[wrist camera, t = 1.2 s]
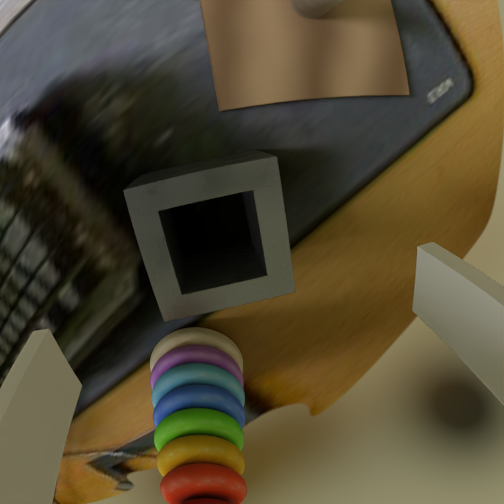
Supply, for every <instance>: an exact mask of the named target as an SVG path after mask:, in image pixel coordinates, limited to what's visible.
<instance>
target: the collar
mask: <svg viewBox="0 0 504 504" xmlns="http://www.w3.org/2000/svg"><path fill="white" fill-rule="evenodd" d="M123 191H124V195H125V199H126V202H127V206H128V210H129V213H130V217H131V221H132V224H133V228H134V231H135V234H136V238H137V241H138V245H139V248H140V251H141V254H142V258H143V261H144V264H145V267H146V270H147V273H148V276H149V279H150V282H151V285H152V288H153V291H154V294H155V297H156V300H157V302H158V305H159V308H160V311H161V314H162V316H163V319H164V322H166V321H170V320H175V319H180V318H185V317H189V316H194V315H199V314H203V313H208V312H212V311H217V310H221V309H226V308H230V307H234V306H239V305H243V304H247V303H252V302H256V301H260V300H264V299H268V298H272V297H276V296H280V295H284V294H288V293H292V292H295V284H294V276H293V268H292V260H291V252H290V244H289V237H288V229H287V222H286V215H285V208H284V201H283V194H282V187H281V180H280V174H279V167H278V160H277V156H274V155H271V154H268V153H265V152H262V151H259V150H252V151H247V152H242V153H236V154H231V155H226V156H221V157H216V158H211V159H207V160H202V161H197V162H193V163H188V164H184V165H180V166H175V167H171V168H167V169H163V170H159V171H155V172H151V173H147V174H143V175H140V176H139V177H138V178H137V179H136V180H134V181H133V182H132V183H131V184H130V185H129V186H128V187H127V188H125V189H124V190H123ZM240 192H242V196H243V202H244V207H245V213H246V218H247V224H248V229H249V235H250V240H251V243H248V244H243V245H239V246H234V247H230V248H225V249H221V250H216V251H212V252H207V253H203V254H199V255H194V256H190V257H185V258H183V255H182V251H181V247H180V243H179V240H178V236H177V232H176V228H175V224H174V220H173V216H172V212H171V208H173V207H177V206H181V205H186V204H190V203H194V202H199V201H203V200H208V199H212V198H217V197H221V196H226V195H231V194H236V193H240Z"/></svg>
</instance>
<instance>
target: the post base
mask: <svg viewBox="0 0 504 504" xmlns="http://www.w3.org/2000/svg"><path fill="white" fill-rule="evenodd" d="M199 2H200V7H201V13H202V18H203V24H204V30H205V35H206V41H207V46H208V52H209V57H210V63H211V68H212V74H213V80H214V85H215V90H216V96H217V101H218V107H219V112H223V111H228V110H234V109H240V108H246V107H253V106H260V105H267V104H274V103H282V102H291V101H301V100H311V99H323V98H337V97H357V96H402V95H410V94H409V87H408V80H407V74H406V68H405V62H404V57H403V51H402V46H401V41H400V37H399V32H398V28H397V24H396V19H395V15H394V11H393V7H392V4H391V0H199Z"/></svg>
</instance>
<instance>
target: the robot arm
mask: <svg viewBox="0 0 504 504" xmlns="http://www.w3.org/2000/svg"><path fill="white" fill-rule="evenodd" d="M412 311H413V312H414V313H415V314H416V315H417V316H418V317H419V318H421V320H423V321H424V322H425V323H426V324H427V325H428V326H429V327H430V328H431V329H432V330H433V331H434V332H435V333H436V334H437V335H438V336H439V337H440V338H441V339H442V340H443V341H444V342H445V343H446V344H447V345H448V346H449V347H450V348H451V349H452V350H453V351H454V353H456V355H458V357H459V358H460V359H461V360H462V361H463V362H464V363H465V364H466V365H467V366H468V367H469V368H470V369H471V370H472V371H473V372H474V373H475V375H477V377H478V378H479V379H480V380H481V381H482V382H483V383H484V384H485V385H486V386H487V388H488V389H489V390H490V391H491V392H492V393H493V394H494V395H495V396H496V397H497V399H498V400H499V401H500V402H501V403H502V404H503V405H504V287H503V286H502V285H500V284H499V283H497V282H496V281H494V280H493V279H491V278H490V277H488V276H487V275H485V274H484V273H482V272H481V271H479V270H478V269H476V268H475V267H473V266H471V265H470V264H468V263H467V262H465V261H464V260H462V259H460V258H459V257H457V256H456V255H454V254H452V253H451V252H449V251H447V250H446V249H444V248H443V247H441V246H439V245H438V244H436V243H434V242H431V243H427V244H424V245H420V246H417V262H416V276H415V288H414V298H413V307H412ZM81 388H82V385H81V383H80V381H79V380H78V378H77V377H76V375H75V373H74V372H73V370H72V369H71V367H70V365H69V364H68V362H67V360H66V358H65V357H64V355H63V353H62V352H61V350H60V348H59V346H58V344H57V343H56V341H55V339H54V337H53V335H52V333H51V331H50V329H43V330H37V331H33V332H32V334H31V336H30V337H29V339H28V340H27V342H26V344H25V345H24V347H23V349H22V350H21V352H20V354H19V355H18V357H17V359H16V361H15V362H14V364H13V366H12V368H11V369H10V371H9V373H8V375H7V377H6V378H5V380H4V382H3V384H2V386H1V388H0V504H52V501H53V496H54V491H55V486H56V481H57V476H58V472H59V467H60V463H61V459H62V455H63V451H64V447H65V443H66V439H67V435H68V432H69V428H70V424H71V421H72V417H73V414H74V411H75V407H76V404H77V401H78V397H79V394H80V391H81Z"/></svg>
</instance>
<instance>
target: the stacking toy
mask: <svg viewBox="0 0 504 504" xmlns="http://www.w3.org/2000/svg"><path fill="white" fill-rule="evenodd" d="M150 370H151V376H150V384H151V389H152V403H153V406H154V413H153V420H154V425H155V427H156V430H155V433H154V443H155V446H156V448H157V450H158V452H159V453H158V455H157V468H158V470H159V471H160V474H161V475H162V476H163V479H162V481H161V484H160V490H161V493H162V496H163V498H164V499H165V500H166V501H167V502H168V503H169V504H240V503H241V502H242V501H243V500H244V498H245V496H246V492H247V487H246V483H245V481H244V479H243V478H242V477H241V474H242V473H243V471H244V466H245V460H244V457H243V454H242V452H241V450H242V448H243V445H244V433H243V430H242V429H243V427H244V424H245V411H244V408H243V407H244V403H245V395H244V391H243V385H244V379H243V374H242V373H243V358H242V355H241V353H240V351H239V349H238V347H237V346H236V345H235V343H234V342H233V341H232V340H230V339H229V338H228V337H226V336H225V335H223V334H222V333H219V332H217V331H215V330H212V329H208V328H201V327H191V328H184V329H180V330H177V331H174V332H172V333H170V334H168V335H167V336H165V337H164V338H163V339H161V340H160V341H159V342H158V344H157V345H156V346H155V348H154V350H153V352H152V355H151V359H150Z"/></svg>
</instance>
